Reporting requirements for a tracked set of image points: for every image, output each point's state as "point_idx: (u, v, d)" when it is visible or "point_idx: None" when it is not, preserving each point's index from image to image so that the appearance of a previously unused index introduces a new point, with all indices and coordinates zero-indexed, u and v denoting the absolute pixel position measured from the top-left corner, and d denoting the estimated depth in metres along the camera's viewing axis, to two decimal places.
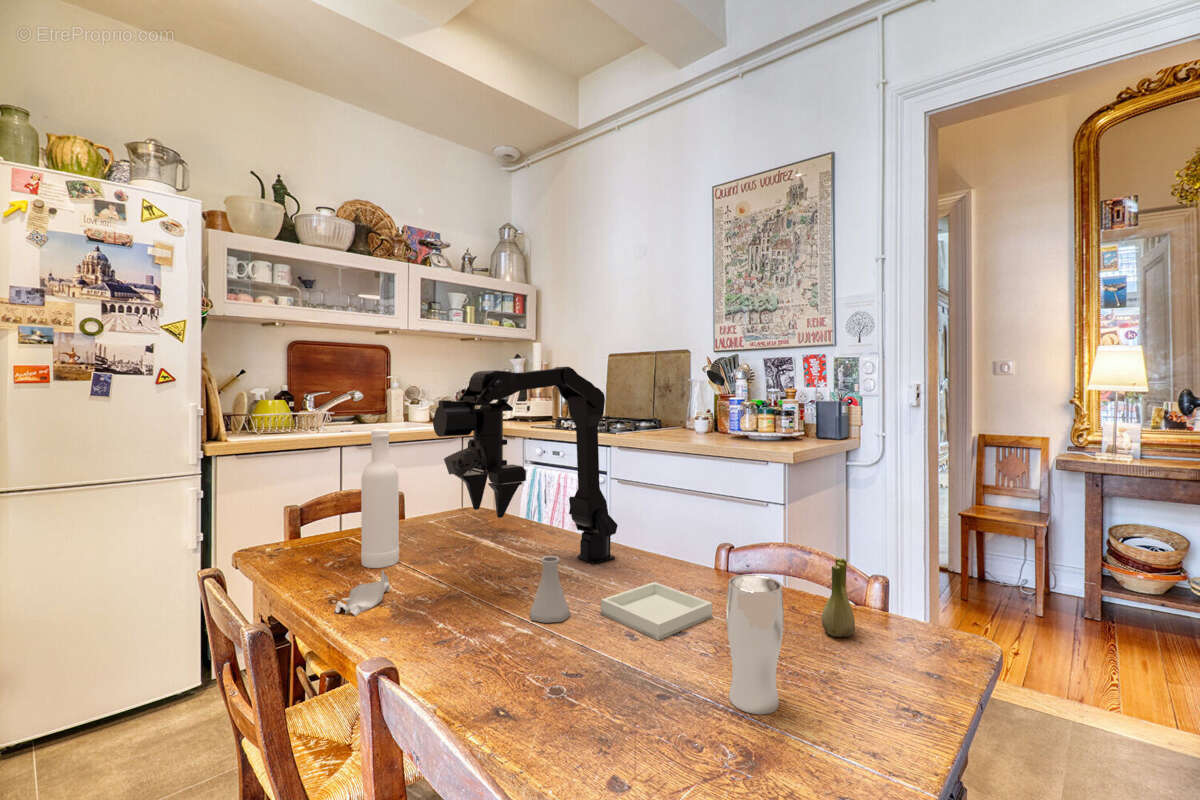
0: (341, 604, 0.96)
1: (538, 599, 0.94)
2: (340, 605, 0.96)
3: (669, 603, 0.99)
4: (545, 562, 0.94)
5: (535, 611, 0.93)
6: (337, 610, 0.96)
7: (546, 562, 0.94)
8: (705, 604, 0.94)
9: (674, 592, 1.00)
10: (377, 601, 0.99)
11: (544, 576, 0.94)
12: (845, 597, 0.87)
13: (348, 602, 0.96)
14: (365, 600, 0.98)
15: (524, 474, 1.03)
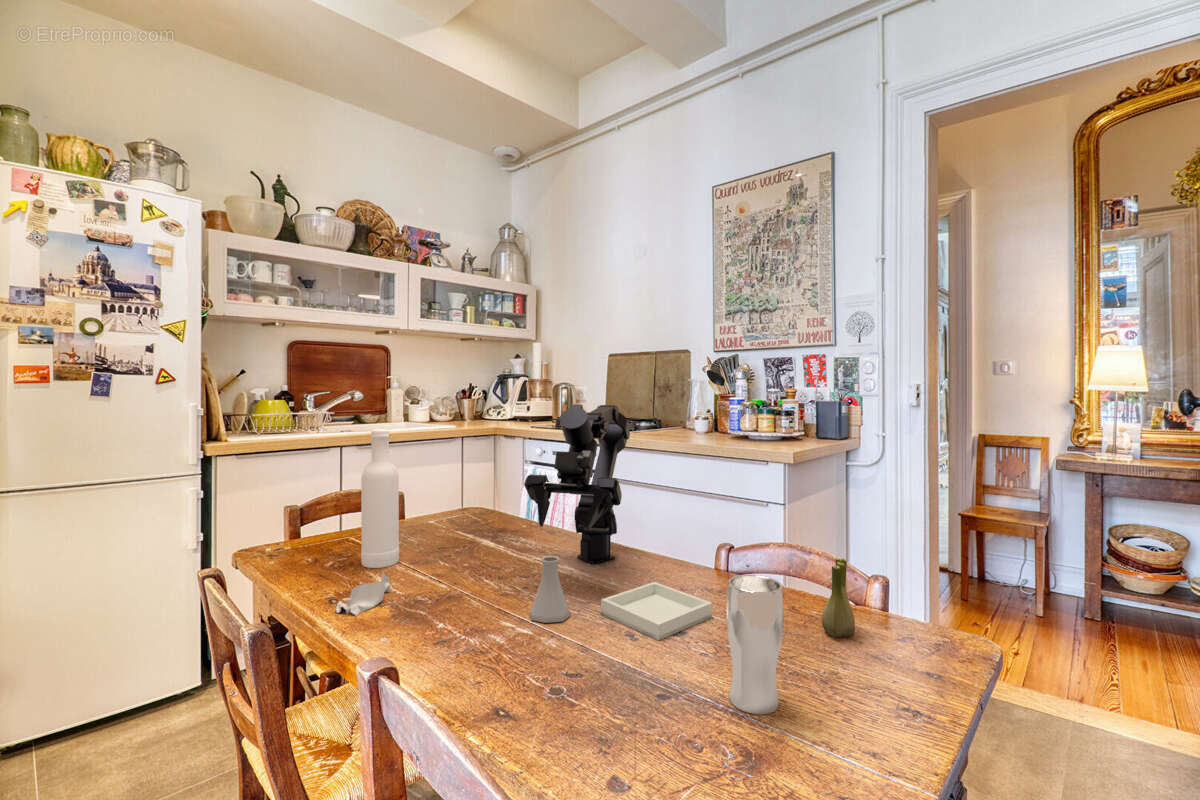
0: (342, 604, 0.96)
1: (538, 599, 0.94)
2: (341, 605, 0.96)
3: (669, 603, 0.99)
4: (545, 562, 0.94)
5: (535, 611, 0.93)
6: (338, 610, 0.96)
7: (546, 562, 0.94)
8: (705, 604, 0.94)
9: (674, 592, 1.00)
10: (378, 601, 0.99)
11: (544, 576, 0.94)
12: (845, 597, 0.87)
13: (349, 602, 0.96)
14: (365, 600, 0.98)
15: (620, 498, 1.08)
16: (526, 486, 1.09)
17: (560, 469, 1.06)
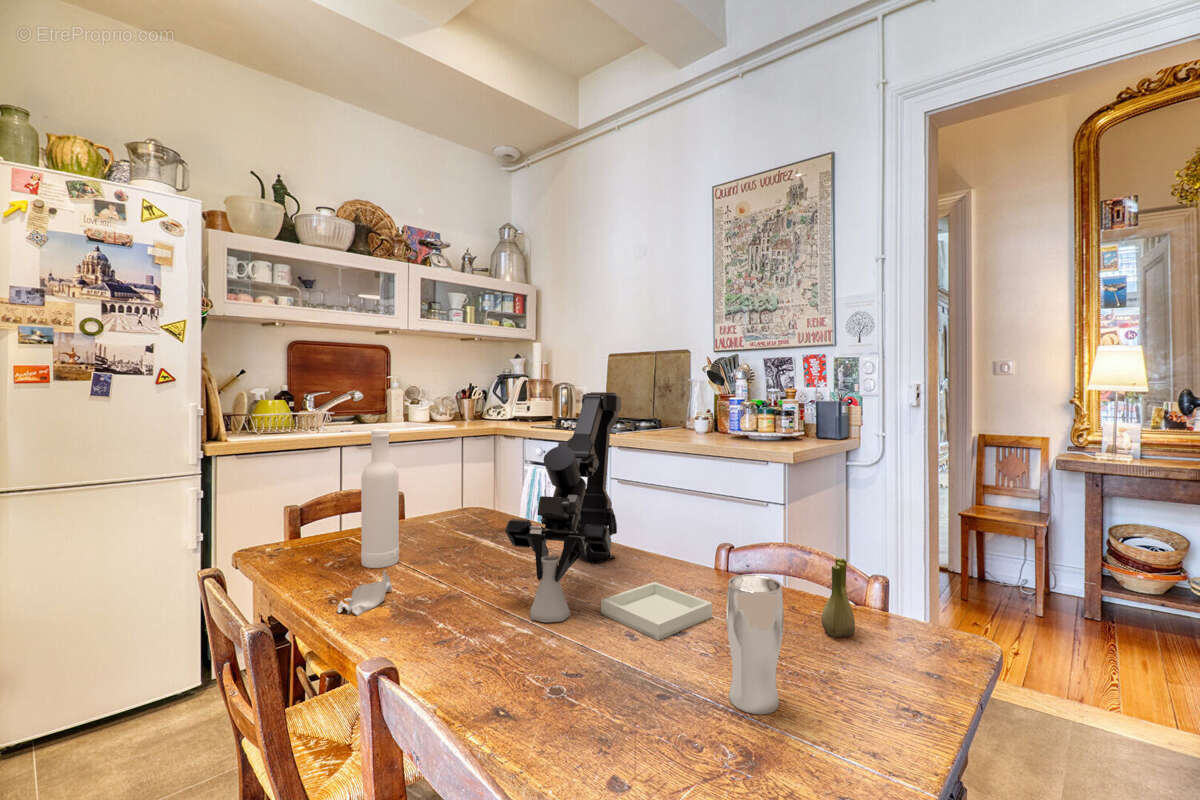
0: (343, 604, 0.96)
1: (538, 599, 0.94)
2: (342, 605, 0.96)
3: (669, 603, 0.99)
4: (545, 562, 0.94)
5: (535, 610, 0.93)
6: (339, 610, 0.96)
7: (546, 562, 0.94)
8: (705, 604, 0.94)
9: (674, 592, 1.00)
10: (379, 601, 0.99)
11: (544, 576, 0.94)
12: (845, 597, 0.87)
13: (350, 602, 0.96)
14: (367, 600, 0.98)
15: (610, 546, 0.99)
16: (507, 532, 1.00)
17: (544, 515, 0.97)
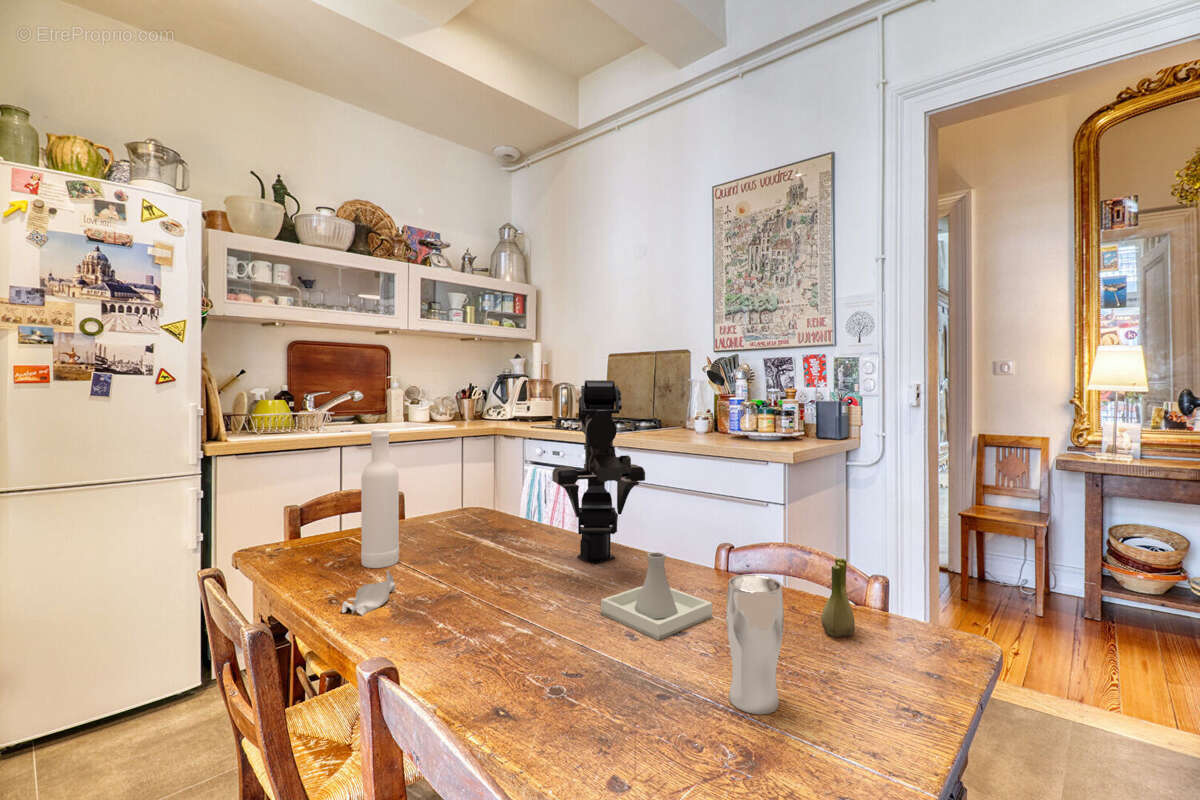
0: (347, 604, 0.96)
1: (654, 597, 0.93)
2: (346, 605, 0.96)
3: None
4: (658, 558, 0.94)
5: (654, 609, 0.93)
6: (343, 610, 0.96)
7: (659, 559, 0.94)
8: (705, 604, 0.94)
9: (674, 592, 1.00)
10: (383, 601, 0.99)
11: (656, 573, 0.94)
12: (845, 597, 0.87)
13: (354, 602, 0.96)
14: (371, 600, 0.98)
15: None
16: None
17: None
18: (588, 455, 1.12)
